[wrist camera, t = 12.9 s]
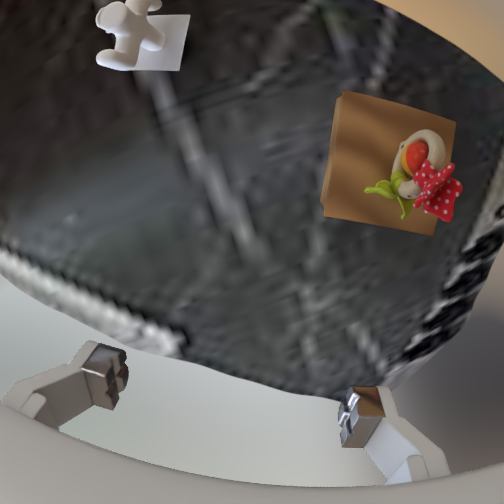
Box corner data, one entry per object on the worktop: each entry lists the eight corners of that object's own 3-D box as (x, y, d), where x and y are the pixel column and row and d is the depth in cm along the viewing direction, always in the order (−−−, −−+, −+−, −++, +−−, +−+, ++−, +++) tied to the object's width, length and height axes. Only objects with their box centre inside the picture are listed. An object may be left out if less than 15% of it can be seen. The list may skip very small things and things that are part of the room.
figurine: (199, 16, 32) (159, -34, 18) (186, 84, 35) (135, 62, 21) (146, 17, 32) (88, -23, 18) (133, 82, 35) (66, 66, 21)
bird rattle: (372, 135, 32) (354, 212, 32) (421, 91, 21) (408, 191, 21) (419, 157, 32) (405, 231, 32) (478, 124, 21) (470, 221, 21)
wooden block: (333, 95, 34) (343, 89, 29) (434, 121, 34) (456, 122, 28) (317, 203, 39) (323, 216, 34) (414, 221, 39) (433, 236, 33)
